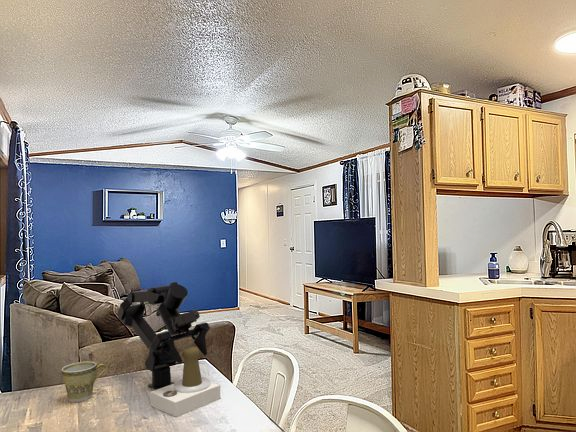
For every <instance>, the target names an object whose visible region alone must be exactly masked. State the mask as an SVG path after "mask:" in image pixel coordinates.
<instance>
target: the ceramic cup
mask: <svg viewBox="0 0 576 432" xmlns="http://www.w3.org/2000/svg"><path fill="white" fill-rule="evenodd" d="M100 366H103V369H102V370H101V371H100V372H99V374H98V375H97V376H96V373H97V370H98V369H99V367H100ZM105 370H106V364H105V363H101V362H99V363H98V364H97V362H94V361H79V362H73V363H71V364H67V365H65V366H63V367H62V368H61V375H62V379H63V382H64V387H65V391H66V397H67V400H68V401H69V402H70V403H81V402H84V401H87V400H89V399H91V398H92V397H93V391H94V384H95V383H96V381H97V380H98V378H99V377H100V376H101V374H103V373H104V372H105Z"/></svg>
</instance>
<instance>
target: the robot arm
mask: <svg viewBox="0 0 576 432" xmlns="http://www.w3.org/2000/svg"><path fill="white" fill-rule="evenodd" d="M188 293H189V292H188V288H186V287H185V286H183V285H182V284H178V282H177V281H174V282H171V283H170V284H166V285H161V286H153V287H150V288H148V289H146V290H141V289H140V290H133V291H130V292H128V293H127V297H126V298H125V299H124V300H123V301H122V302H121V303H120V304H119V308H118V311H117V318H118V320H119V321H120V322H121V323H122V324H123V325H124V326H127V327H131V328H132V330H134V332H135V333H136V335H137V336H138V337H139V338H140V340H141V341H142V342H143V344H144V345H145V346H146V348H147V349H148V354H147V355H148V356H147V358H146V360H145V363H144V364H145V365H144V366H145V369H146V370H148V371H150V372H151V383H149V384H147V387H148V388H151V389H154V390H157V389H160V388H163V387H166V386H169V385H171V384H174V383H175V382H173V381H172V373H171V367H174V366H176V363H178V364H179V365H181V364H182V363H183V359H182V356H181V355H180V353H179V351H178V349H177V347H176V345H175V341H179V340H182V339H187V338H191V339H192V340H194V341H193V343H194V344H195V347H197V348H198V349H199V352H200V353H202V354H203V356H205V357H206V356H207V355H208V350H207V344H206V336H207V334H208V332H209V331H210V329H211V327H210V325H209V323H208V322H205V321H204V322H200V323H196V322H197V320H198V319H200V312H199V311H198V310H197V308H193V309H191V310H189V311H188V312H183V313H180V312H181V311H179V309H180V308H181V307H182V305H183V304H184V301H185V300H186V298H187V296H188ZM144 302H147V304H148V305H152V306H156V305H159V306H158V307H157V309H156V313H155V314H156V315H155V316H156V317H160V318H161V320H162V321H163V324H164V326H163V329H164V332H159V333H157V332H156V331H154V329H153V328H152V327H151V325H150V324H149V323H148V322H147V320H146V319H145V318H144V314H145V311H146V305H145V304H144ZM133 303H136V304H133ZM137 303H138V304H137ZM192 323H196V324H195V326H194V327H193V329H190V328H192V326H193V325H192Z"/></svg>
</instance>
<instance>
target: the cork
mask: <svg viewBox="0 0 576 432" xmlns="http://www.w3.org/2000/svg"><path fill="white" fill-rule="evenodd" d="M200 353H201V351H200V350H199V348H198V347H197V346H196V345H195V346H186V347H185V348H183V349H182V352H181V354H182V355H181V357H183V370H182V379H181V380H182V385H183V386H185V387H194V386H198V385H200V384H201V383H202V379H201V377H202V374H201V368H200V364H199V363H200V362H199V356H200Z"/></svg>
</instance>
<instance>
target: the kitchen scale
mask: <svg viewBox="0 0 576 432" xmlns="http://www.w3.org/2000/svg"><path fill="white" fill-rule="evenodd" d="M201 379H202V383H201V384H200V385H198V386H194V387H185V386H183V385H182V379H180V380H178V381H176V382H174V384H171V385H169V386H166V387H163V388H160V389H157V390H156V389H154V390H152V391H150V393H149V397H150V406H151V407H153V408H155V409H157V410H159V411H162V412H163V413H167V414H168V415H170V416H173V417H175V418H177V417H180V416H182V415H185V414H186V413H189V412H192V411H194V410H196V409H198V408H201V407H203V406H206V405H208V404H210V403H212V402H215V401H218V400H220V399H221V385H220V384H217V383H215V382H212V381H211V379H209V378H207V377H203V376H201Z"/></svg>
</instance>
